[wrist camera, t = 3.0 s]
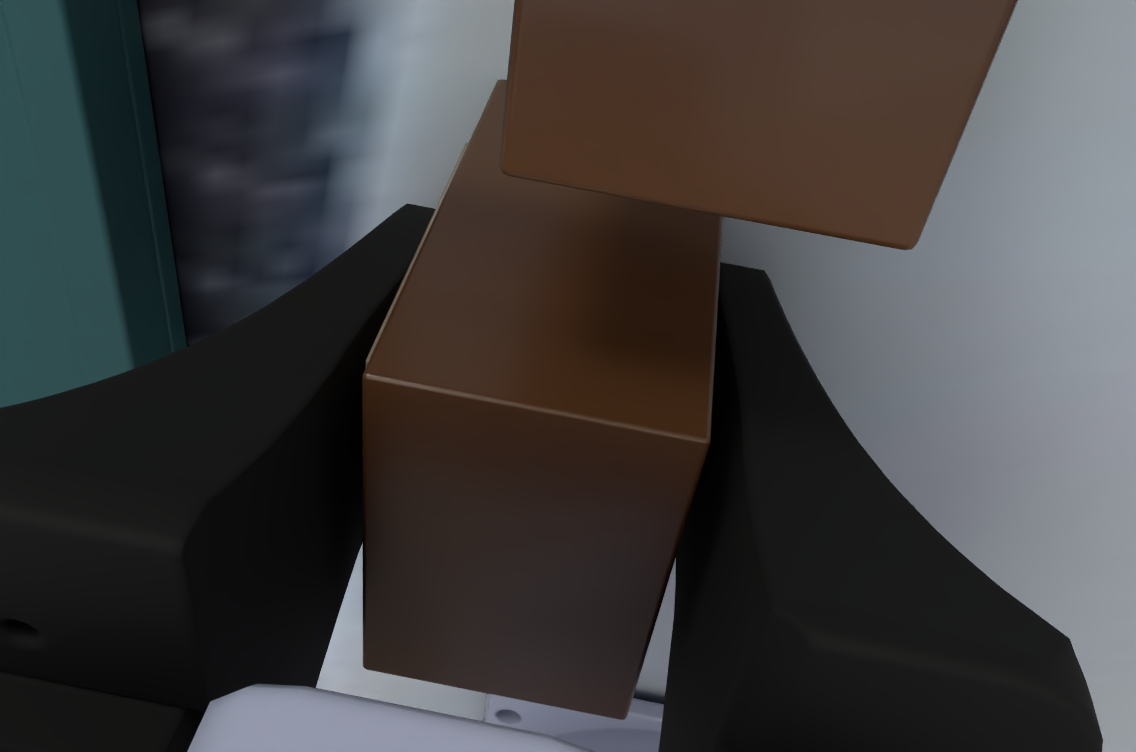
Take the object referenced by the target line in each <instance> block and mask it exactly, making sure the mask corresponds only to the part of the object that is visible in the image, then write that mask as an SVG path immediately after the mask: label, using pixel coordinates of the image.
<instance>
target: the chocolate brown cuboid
mask: <svg viewBox="0 0 1136 752" xmlns="http://www.w3.org/2000/svg"><path fill="white" fill-rule="evenodd" d="M506 87H507V81H505V80H498V81H497V83H496V85H495V87H494V89H493V91H492V94H491V96H490V98H489V100H488V102H487V104H486V107H485V109H484V111H483V113H482V115H481V118H480V120H479V122H478V124H477V126H476V128H475V131H474V133H473V135H472V137H471V139H470V142H469V143H466V145H465V147H464V149H463V151H462V153H461V155H460V158H459V160H458V162H457V164H456V166H455V168H454V171H453V173H452V175H451V177H450V179H449V181H448V184H447V186H446V188H445V190H444V192H443V194H442V197H441V199H440V201H439V203H438V205H437V207H436V210H435V212H434V214H433V216H432V218H431V220H430V222H429V225H428V227H427V229H426V231H425V233H424V235H423V238H422V240H421V242H420V244H419V246H418V248H417V251H416V253H415V255H414V257H413V259H412V261H411V264H410V266H409V268H408V270H407V272H406V274H405V277H404V279H403V281H402V283H401V285H400V287H399V290H398V292H397V294H396V296H395V298H394V300H393V303H392V305H391V307H390V309H389V311H388V313H387V315H386V318H385V320H384V322H383V324H382V326H381V328H380V331H379V333H378V335H377V337H376V339H375V341H374V344H373V346H372V348H371V350H370V352H369V354H368V357H367V359H366V361H365V371H364V373H363V375H362V456H363V667H364V668H365V669H367V670H372V671H377V672H382V673H387V674H392V675H397V676H402V677H407V678H412V679H417V680H422V681H427V682H432V683H437V684H442V685H447V686H453V687H458V688H463V689H468V690H473V691H478V692H483V693H488V694H493V695H498V696H503V697H508V698H513V699H518V700H523V701H528V702H533V703H538V704H543V705H548V706H553V707H558V708H563V709H568V710H573V711H578V712H583V713H588V714H593V715H598V716H603V717H608V718H613V719H618V720H625V719H626V717H627V715H628V712H629V709H630V705H631V702H632V699H633V695H634V692H635V689H636V686H637V682H638V679H639V676H640V672H641V669H642V666H643V663H644V659H645V656H646V653H647V649H648V646H649V643H650V640H651V636H652V633H653V630H654V626H655V623H656V620H657V617H658V613H659V610H660V607H661V603H662V600H663V597H664V594H665V590H666V587H667V584H668V580H669V577H670V574H671V571H672V567H673V564H674V561H675V557H676V554H677V551H678V548H679V544H680V541H681V538H682V534H683V531H684V528H685V525H686V521H687V518H688V515H689V511H690V508H691V505H692V502H693V498H694V495H695V492H696V488H697V485H698V482H699V478H700V475H701V472H702V469H703V465H704V462H705V459H706V455H707V452H708V449H709V446H710V442H711V424H712V405H713V387H714V368H715V350H716V331H717V313H718V294H719V275H720V257H721V238H722V220H723V216H720V215H714V214H709V213H704V212H698V211H693V210H688V209H682V208H677V207H671V206H666V205H661V204H655V203H650V202H645V201H639V200H634V199H629V198H623V197H618V196H613V195H607V194H602V193H597V192H591V191H586V190H580V189H575V188H570V187H564V186H559V185H554V184H548V183H543V182H538V181H532V180H527V179H522V178H516V177H511V176H507V175H506V174H504V173H502V170H501V167H500V163H499V161H500V151H501V140H502V130H503V119H504V108H505V98H506Z"/></svg>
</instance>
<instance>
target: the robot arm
mask: <svg viewBox="0 0 1136 752" xmlns="http://www.w3.org/2000/svg"><path fill="white" fill-rule="evenodd" d="M435 210H436V209H433V208H428V207H423V206H417V205H412V204H406V205H404V206H403V207H402V208H400V209H399V210H397V211H396V212H395V213H393V214H392V215H391V216H390V217H388V218H387V219H386V220H385V221H383V222H382V223H381V224H380V225H378V226H377V227H376V228H375V229H373V230H372V231H371V232H370V233H368V234H367V235H366V236H365V237H363V238H362V239H361V240H359V241H358V242H357V243H356V244H354V245H353V246H352V247H350V248H349V249H348V250H347V251H345V252H344V253H343V254H341V255H340V256H338V257H337V258H336V259H334V260H333V261H332V262H330V263H329V264H328V265H326V266H325V267H324V268H322V269H321V270H319V271H318V272H317V273H315V274H314V275H313V276H311V277H310V278H308V279H307V280H305V281H304V282H303V283H301V284H300V285H298V286H296V287H295V288H293V289H292V290H290V291H289V292H287V293H286V294H284V295H283V296H281V297H279V298H278V299H276V300H275V301H273V302H272V303H270V304H269V305H267V306H265V307H264V308H262V309H261V310H259V311H257V312H256V313H254V314H252V315H250V316H248V317H247V318H245V319H243V320H241V321H239V322H238V323H236V324H234V325H232V326H230V327H228V328H226V329H224V330H222V331H220V332H218V333H216V334H214V335H212V336H210V337H208V338H206V339H204V340H202V341H200V342H197V343H195V344H193V345H191V346H188V347H186V348H183V349H181V350H179V351H176V352H174V353H171V354H169V355H166V356H164V357H161V358H159V359H157V360H154V361H152V362H149V363H147V364H144V365H142V366H140V367H137V368H135V369H132V370H129V371H127V372H124V373H121V374H118V375H115V376H112V377H109V378H106V379H103V380H100V381H97V382H94V383H91V384H88V385H85V386H81V387H78V388H75V389H71V390H68V391H65V392H61V393H58V394H55V395H51V396H47V397H43V398H40V399H36V400H32V401H28V402H24V403H19V404H15V405H10V406H6V407H2V408H0V752H1102V744H1103V738H1102V735H1101V731H1100V728H1099V724H1098V720H1097V717H1096V713H1095V709H1094V706H1093V702H1092V699H1091V695H1090V692H1089V689H1088V686H1087V683H1086V680H1085V677H1084V675H1083V672H1082V670H1081V667H1080V665H1079V662H1078V660H1077V658H1076V655H1075V653H1074V650H1073V647H1072V644H1071V641H1070V639H1069V638H1068V637H1067V636H1065V635H1064V634H1063V633H1061V632H1060V631H1058V630H1057V629H1056V628H1054V627H1053V626H1052V625H1050V624H1049V623H1048V622H1046V621H1045V620H1044V619H1042V618H1041V617H1040V616H1038V615H1037V614H1036V613H1034V612H1033V611H1032V610H1030V609H1029V608H1028V607H1026V606H1025V605H1024V604H1022V603H1021V602H1020V601H1018V600H1017V599H1016V598H1014V597H1013V596H1012V595H1010V594H1009V593H1008V592H1006V591H1005V590H1004V589H1002V588H1001V587H1000V586H999V585H997V584H996V583H995V582H994V581H992V580H991V579H990V578H989V577H988V576H987V575H986V574H984V573H983V572H982V571H981V570H980V569H979V568H977V567H976V566H975V565H974V564H973V563H972V562H971V561H969V560H968V559H967V558H966V557H965V556H964V555H962V554H961V553H960V552H959V551H958V550H957V549H956V548H955V547H954V546H953V545H951V544H950V543H949V542H948V541H947V540H946V539H945V538H944V537H943V536H942V535H941V534H940V533H939V532H938V531H937V530H936V529H935V528H934V527H933V526H932V525H931V524H930V523H929V522H928V521H927V520H926V519H925V518H924V517H923V516H922V515H921V514H920V513H919V512H918V511H917V510H916V509H915V508H914V507H913V506H912V505H911V504H910V503H909V502H908V500H907V499H906V498H905V497H904V496H903V495H902V494H901V493H900V492H899V491H898V490H897V489H896V487H895V486H894V485H893V484H892V483H891V482H890V481H889V479H888V478H887V477H886V476H885V475H884V474H883V472H882V471H881V470H880V469H879V467H878V466H877V465H876V464H875V462H874V461H873V460H872V459H871V457H870V456H869V455H868V454H867V452H866V451H865V450H864V448H863V447H862V446H861V445H860V443H859V442H858V441H857V439H856V438H855V437H854V435H853V434H852V432H851V431H850V429H849V428H848V426H847V425H846V423H845V422H844V420H843V419H842V417H841V416H840V414H839V413H838V411H837V409H836V408H835V406H834V405H833V403H832V402H831V400H830V398H829V397H828V395H827V393H826V392H825V390H824V388H823V387H822V385H821V383H820V382H819V380H818V378H817V376H816V374H815V373H814V371H813V369H812V367H811V365H810V363H809V362H808V360H807V358H806V356H805V354H804V353H803V351H802V349H801V347H800V345H799V343H798V341H797V339H796V337H795V335H794V333H793V331H792V329H791V326H790V324H789V322H788V320H787V318H786V316H785V314H784V311H783V309H782V307H781V305H780V302H779V300H778V298H777V296H776V293H775V291H774V288H773V286H772V283H771V281H770V279H769V277H768V276H767V274H766V273H765V271H764V270H758V269H753V268H748V267H742V266H737V265H732V264H726V263H721V262H720V275H719V294H718V313H717V331H716V350H715V368H714V387H713V405H712V424H711V442H710V446H709V449H708V452H707V455H706V459H705V462H704V465H703V469H702V472H701V475H700V478H699V482H698V485H697V488H696V492H695V495H694V498H693V502H692V505H691V508H690V511H689V515H688V518H687V521H686V525H685V528H684V531H683V534H682V538H681V541H680V544H679V548H678V551H677V554H676V589H675V608H674V622H673V631H672V639H671V648H670V657H669V666H668V675H667V684H666V692H665V701H664V704H660V703H655V702H650V701H645V700H640V699H635V698H633V699H632V702H631V705H630V709H629V712H628V715H627V717H626V719H625V720H618V719H613V718H608V717H603V716H598V715H593V714H588V713H583V712H578V711H573V710H568V709H563V708H558V707H553V706H548V705H543V704H538V703H533V702H528V701H523V700H518V699H513V698H508V697H503V696H498V695H493V694H488V695H487V700H486V708H485V715H484V722H482V721H477V720H472V719H467V718H462V717H457V716H452V715H447V714H442V713H437V712H432V711H428V710H423V709H418V708H413V707H408V706H403V705H398V704H393V703H388V702H383V701H378V700H373V699H368V698H363V697H358V696H353V695H348V694H343V693H338V692H333V691H328V690H323V689H318V688H316V684H317V681H318V678H319V675H320V671H321V668H322V665H323V662H324V658H325V655H326V652H327V649H328V646H329V642H330V639H331V636H332V633H333V630H334V626H335V623H336V620H337V617H338V614H339V610H340V607H341V604H342V601H343V598H344V595H345V592H346V589H347V586H348V583H349V580H350V577H351V574H352V571H353V568H354V564H355V561H356V558H357V555H358V553H359V550H360V548H361V545H362V542H363V456H362V375H363V373H364V371H365V361H366V359H367V357H368V354H369V352H370V350H371V348H372V346H373V344H374V341H375V339H376V337H377V335H378V333H379V331H380V328H381V326H382V324H383V322H384V320H385V318H386V315H387V313H388V311H389V309H390V307H391V305H392V303H393V300H394V298H395V296H396V294H397V292H398V290H399V287H400V285H401V283H402V281H403V279H404V277H405V274H406V272H407V270H408V268H409V266H410V264H411V261H412V259H413V257H414V255H415V253H416V251H417V248H418V246H419V244H420V242H421V240H422V238H423V235H424V233H425V231H426V229H427V227H428V225H429V222H430V220H431V218H432V216H433V214H434V212H435Z"/></svg>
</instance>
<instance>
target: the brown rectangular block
mask: <svg viewBox="0 0 1136 752" xmlns="http://www.w3.org/2000/svg"><path fill="white" fill-rule="evenodd" d="M1017 1H1018V0H515V3H514V13H513V24H512V34H511V45H510V56H509V66H508V77H507V87H506V98H505V108H504V119H503V130H502V140H501V151H500V161H499V163H500V167H501V170H502V173H504V174H506V175H507V176H511V177H516V178H522V179H527V180H532V181H538V182H543V183H548V184H554V185H559V186H564V187H570V188H575V189H580V190H586V191H591V192H597V193H602V194H607V195H613V196H618V197H623V198H629V199H634V200H639V201H645V202H650V203H655V204H661V205H666V206H671V207H677V208H682V209H688V210H693V211H698V212H704V213H709V214H714V215H720V216H725V217H730V218H736V219H741V220H746V221H752V222H757V223H762V224H768V225H773V226H779V227H784V228H789V229H795V230H800V231H805V232H811V233H816V234H821V235H827V236H832V237H837V238H843V239H848V240H853V241H859V242H864V243H870V244H875V245H880V246H886V247H891V248H896V249H902V250H910V249H913V247H914V246H915V245H916V244H917V242H918V241H919V238H920V236H921V233H922V231H923V229H924V226H925V224H926V221H927V219H928V216H929V214H930V212H931V209H932V207H933V204H934V202H935V200H936V197H937V195H938V192H939V190H940V187H941V185H942V183H943V180H944V178H945V175H946V173H947V171H948V168H949V166H950V163H951V161H952V158H953V156H954V154H955V151H956V149H957V146H958V144H959V142H960V139H961V137H962V134H963V132H964V129H965V127H966V125H967V122H968V120H969V117H970V115H971V113H972V110H973V108H974V105H975V103H976V100H977V98H978V96H979V93H980V91H981V88H982V86H983V84H984V81H985V79H986V76H987V74H988V71H989V69H990V67H991V64H992V62H993V59H994V57H995V54H996V52H997V50H998V47H999V45H1000V42H1001V40H1002V38H1003V35H1004V33H1005V30H1006V28H1007V25H1008V23H1009V21H1010V18H1011V16H1012V13H1013V11H1014V9H1015V6H1016V4H1017Z"/></svg>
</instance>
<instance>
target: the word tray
mask: <svg viewBox="0 0 1136 752" xmlns="http://www.w3.org/2000/svg"><path fill="white" fill-rule="evenodd" d="M186 347H187V344H186V337H185V330H184V323H183V316H182V310H181V303H180V296H179V289H178V282H177V275H176V268H175V261H174V254H173V247H172V241H171V234H170V227H169V220H168V213H167V206H166V199H165V192H164V185H163V179H162V172H161V165H160V158H159V151H158V144H157V137H156V130H155V123H154V117H153V110H152V103H151V96H150V89H149V82H148V75H147V68H146V61H145V54H144V48H143V41H142V34H141V27H140V20H139V13H138V6H137V0H0V408H2V407H6V406H10V405H15V404H19V403H24V402H28V401H32V400H36V399H40V398H43V397H47V396H51V395H55V394H58V393H61V392H65V391H68V390H71V389H75V388H78V387H81V386H85V385H88V384H91V383H94V382H97V381H100V380H103V379H106V378H109V377H112V376H115V375H118V374H121V373H124V372H127V371H129V370H132V369H135V368H137V367H140V366H142V365H144V364H147V363H149V362H152V361H154V360H157V359H159V358H161V357H164V356H166V355H169V354H171V353H174V352H176V351H179V350H181V349H183V348H186Z"/></svg>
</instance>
